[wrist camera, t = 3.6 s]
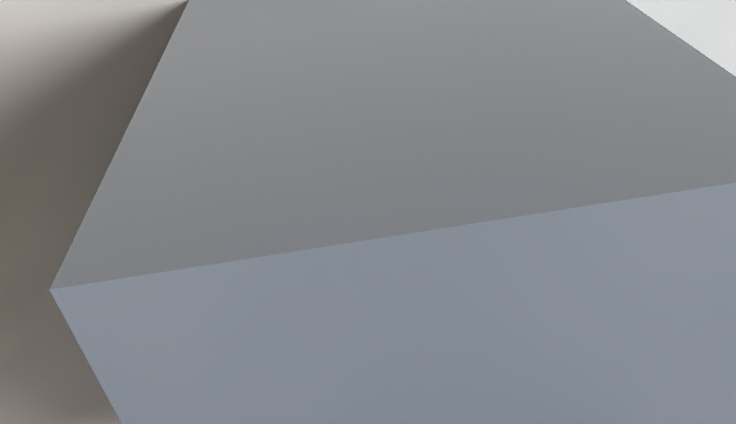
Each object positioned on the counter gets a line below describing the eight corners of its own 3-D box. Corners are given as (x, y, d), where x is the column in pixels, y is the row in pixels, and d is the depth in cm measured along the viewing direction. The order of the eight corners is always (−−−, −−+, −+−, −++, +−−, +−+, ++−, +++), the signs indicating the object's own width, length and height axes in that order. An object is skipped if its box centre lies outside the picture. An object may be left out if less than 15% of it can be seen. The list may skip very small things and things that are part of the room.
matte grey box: (545, -56, 13) (859, 163, 6) (534, 354, 20) (673, 695, 12) (189, -1, 13) (48, 289, 6) (299, 390, 20) (299, 753, 12)
